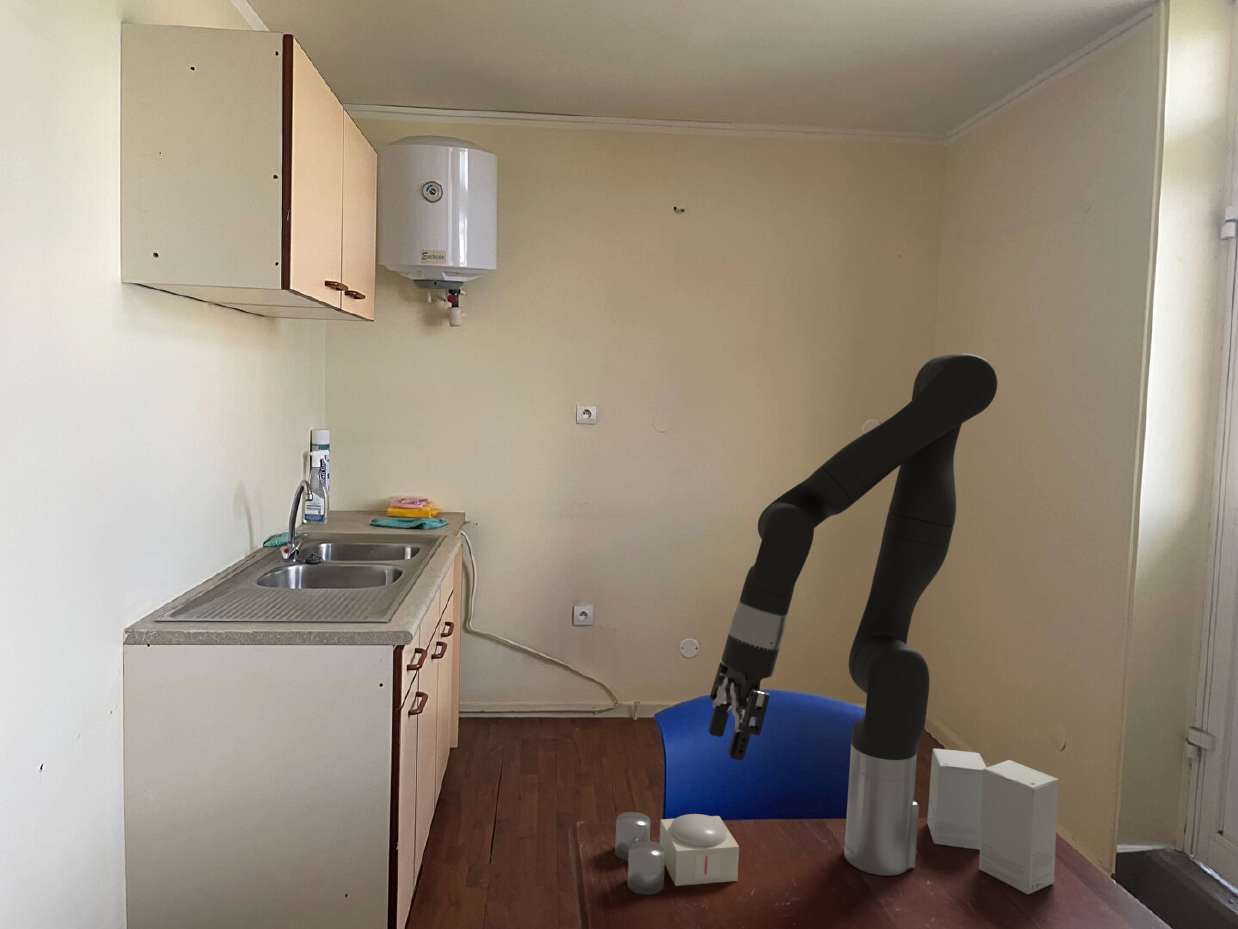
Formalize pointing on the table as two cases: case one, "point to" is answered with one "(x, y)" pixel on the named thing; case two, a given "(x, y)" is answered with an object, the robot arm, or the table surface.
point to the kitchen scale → (699, 850)
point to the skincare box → (1018, 825)
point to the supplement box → (956, 798)
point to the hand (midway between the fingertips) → (724, 746)
